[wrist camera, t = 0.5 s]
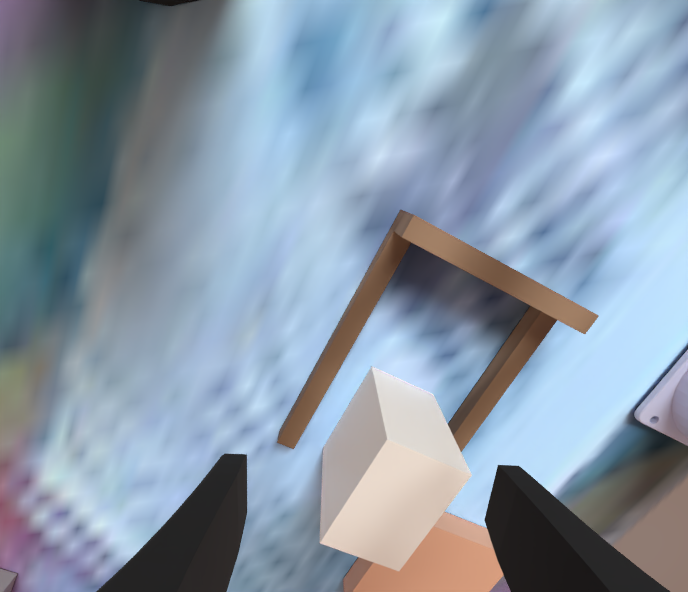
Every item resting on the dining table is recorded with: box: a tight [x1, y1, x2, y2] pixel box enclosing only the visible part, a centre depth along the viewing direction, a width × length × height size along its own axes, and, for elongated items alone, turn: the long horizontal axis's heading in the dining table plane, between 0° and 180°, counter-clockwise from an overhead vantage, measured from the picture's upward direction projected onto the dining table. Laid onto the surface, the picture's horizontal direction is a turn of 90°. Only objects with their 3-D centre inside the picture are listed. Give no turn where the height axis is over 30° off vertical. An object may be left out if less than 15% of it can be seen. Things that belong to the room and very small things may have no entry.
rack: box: [277, 210, 598, 452], centre depth 18 cm, size 10×14×3 cm
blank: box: [320, 367, 472, 571], centre depth 18 cm, size 4×6×6 cm, turn 153°
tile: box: [343, 512, 504, 592], centre depth 23 cm, size 8×8×2 cm
